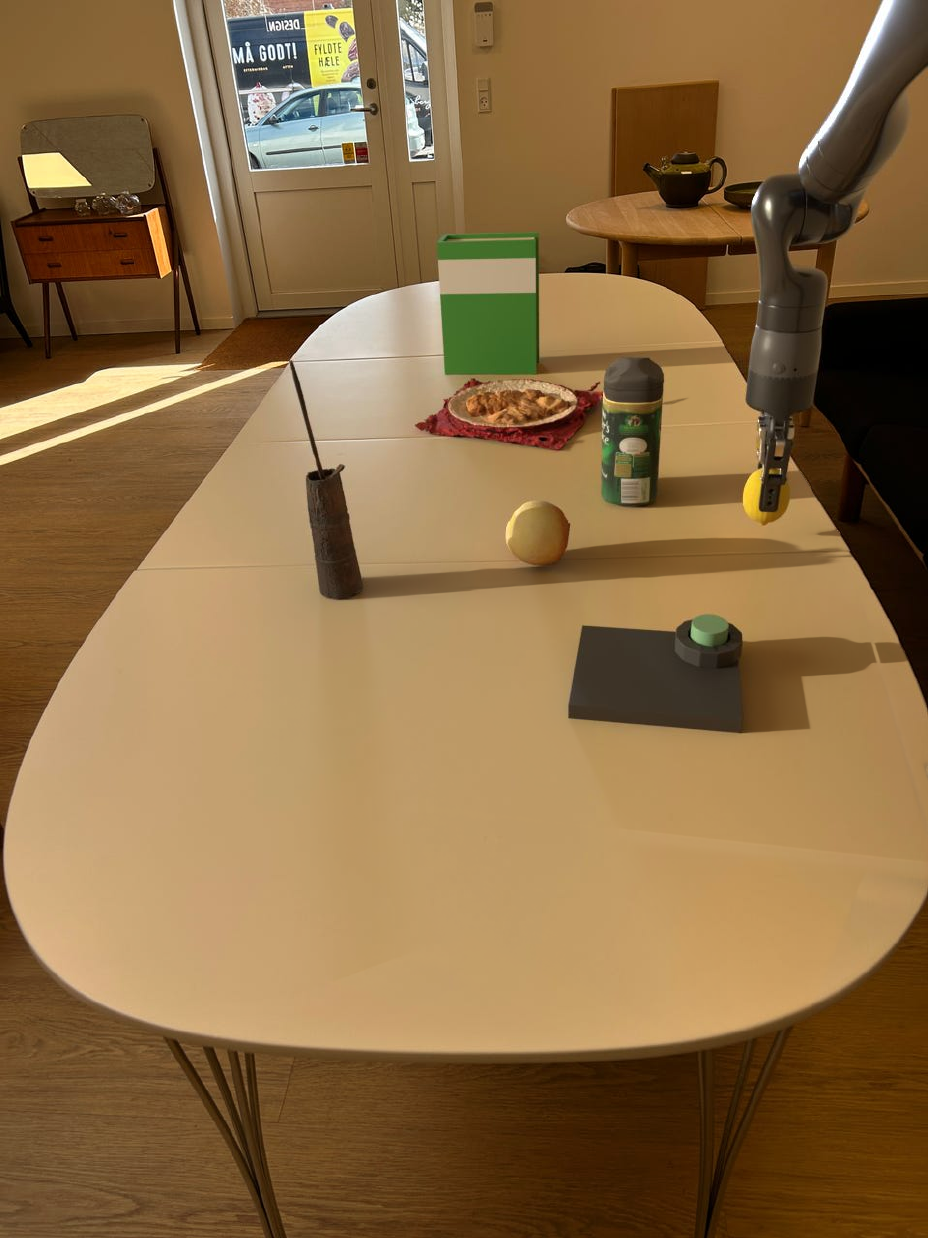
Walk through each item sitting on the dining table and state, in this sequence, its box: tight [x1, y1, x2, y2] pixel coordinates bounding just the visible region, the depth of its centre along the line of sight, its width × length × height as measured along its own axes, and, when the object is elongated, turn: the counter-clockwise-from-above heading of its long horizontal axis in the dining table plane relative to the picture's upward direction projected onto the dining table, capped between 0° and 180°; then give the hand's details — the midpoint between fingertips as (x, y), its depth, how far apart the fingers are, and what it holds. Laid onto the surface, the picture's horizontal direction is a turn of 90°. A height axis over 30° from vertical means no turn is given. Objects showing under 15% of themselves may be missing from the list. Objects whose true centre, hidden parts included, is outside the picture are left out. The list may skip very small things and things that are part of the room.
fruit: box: [505, 500, 571, 566], centre depth 113 cm, size 8×8×8 cm
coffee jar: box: [600, 356, 665, 508], centre depth 126 cm, size 10×8×19 cm
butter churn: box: [288, 359, 364, 600], centre depth 105 cm, size 9×10×28 cm
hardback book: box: [436, 231, 540, 375], centre depth 175 cm, size 18×7×24 cm, turn 82°
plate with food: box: [414, 377, 603, 451], centre depth 158 cm, size 24×26×3 cm
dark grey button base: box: [567, 618, 744, 734], centre depth 93 cm, size 16×14×4 cm
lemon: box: [742, 468, 791, 527], centre depth 115 cm, size 6×6×8 cm
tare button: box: [691, 613, 729, 647], centre depth 94 cm, size 4×4×2 cm
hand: (765, 499), depth 115 cm, fingers closed on lemon, 5 cm apart
